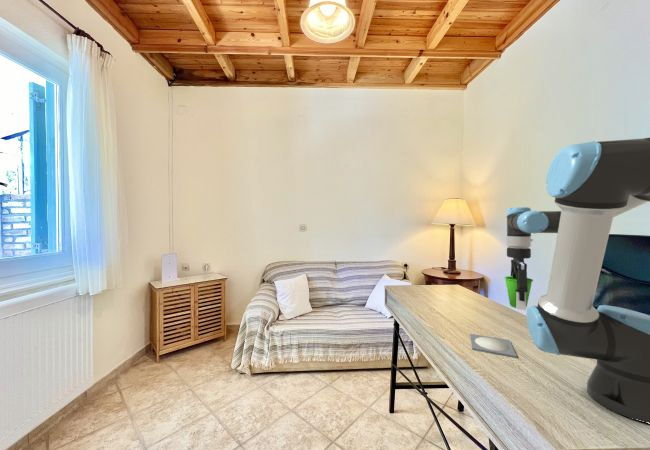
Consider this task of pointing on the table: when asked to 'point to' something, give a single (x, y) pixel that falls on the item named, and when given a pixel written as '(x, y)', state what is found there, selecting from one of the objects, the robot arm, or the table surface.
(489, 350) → the coaster
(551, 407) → the table surface
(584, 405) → the table surface
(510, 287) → the cup
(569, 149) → the robot arm
